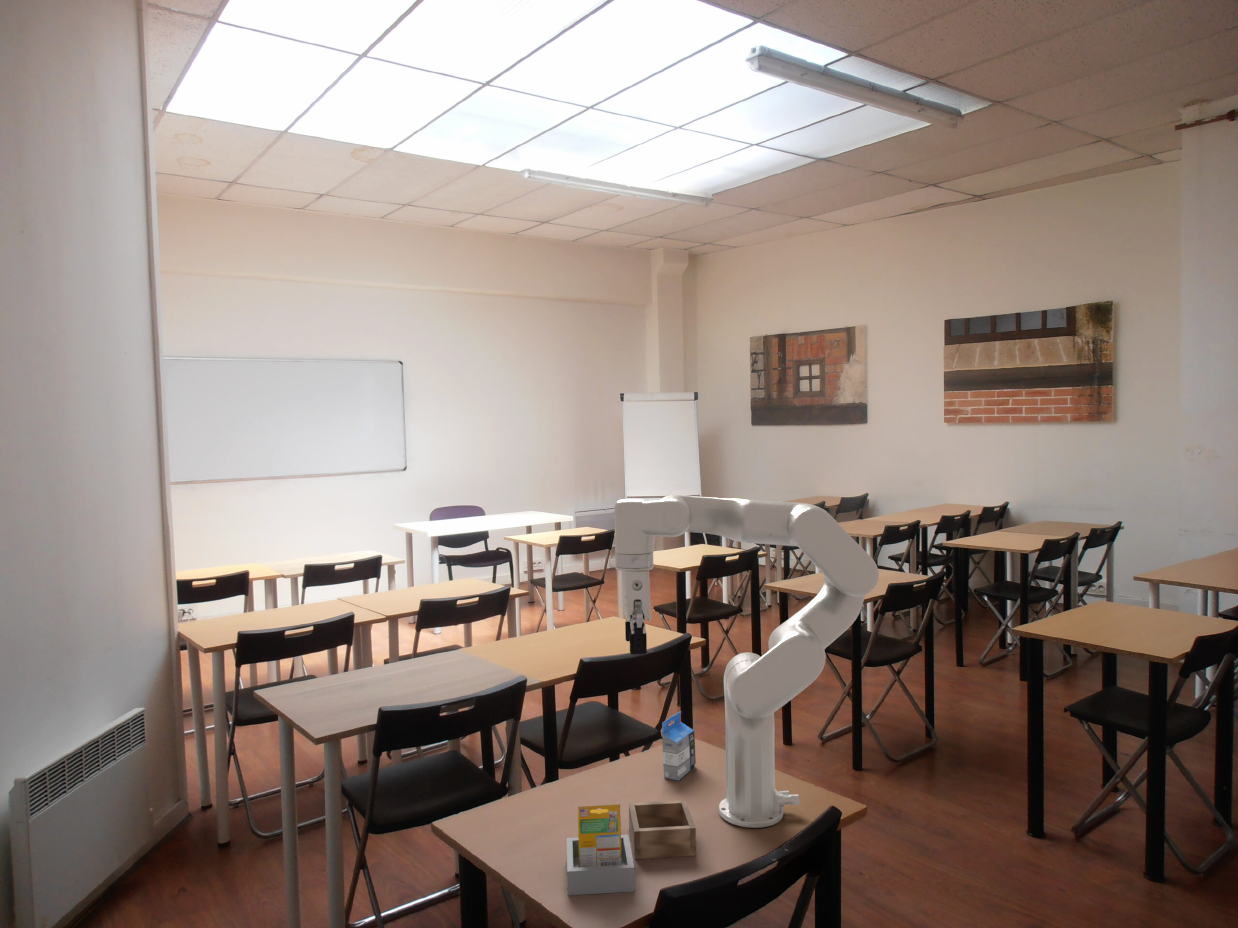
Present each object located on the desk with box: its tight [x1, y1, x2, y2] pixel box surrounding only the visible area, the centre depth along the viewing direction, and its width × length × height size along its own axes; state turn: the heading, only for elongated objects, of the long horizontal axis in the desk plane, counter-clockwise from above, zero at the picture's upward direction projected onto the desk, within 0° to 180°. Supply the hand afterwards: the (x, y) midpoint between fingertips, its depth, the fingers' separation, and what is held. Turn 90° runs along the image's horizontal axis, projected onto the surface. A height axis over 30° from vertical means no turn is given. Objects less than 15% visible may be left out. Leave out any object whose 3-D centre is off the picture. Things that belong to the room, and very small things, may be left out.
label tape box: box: [661, 710, 697, 781], centre depth 178 cm, size 9×4×12 cm, turn 149°
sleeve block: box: [628, 799, 697, 860], centre depth 148 cm, size 11×11×5 cm
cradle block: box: [566, 834, 636, 896], centre depth 137 cm, size 11×11×4 cm
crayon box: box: [577, 803, 622, 868], centre depth 137 cm, size 7×3×12 cm, turn 94°
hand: (635, 646), depth 159 cm, fingers open, 9 cm apart
